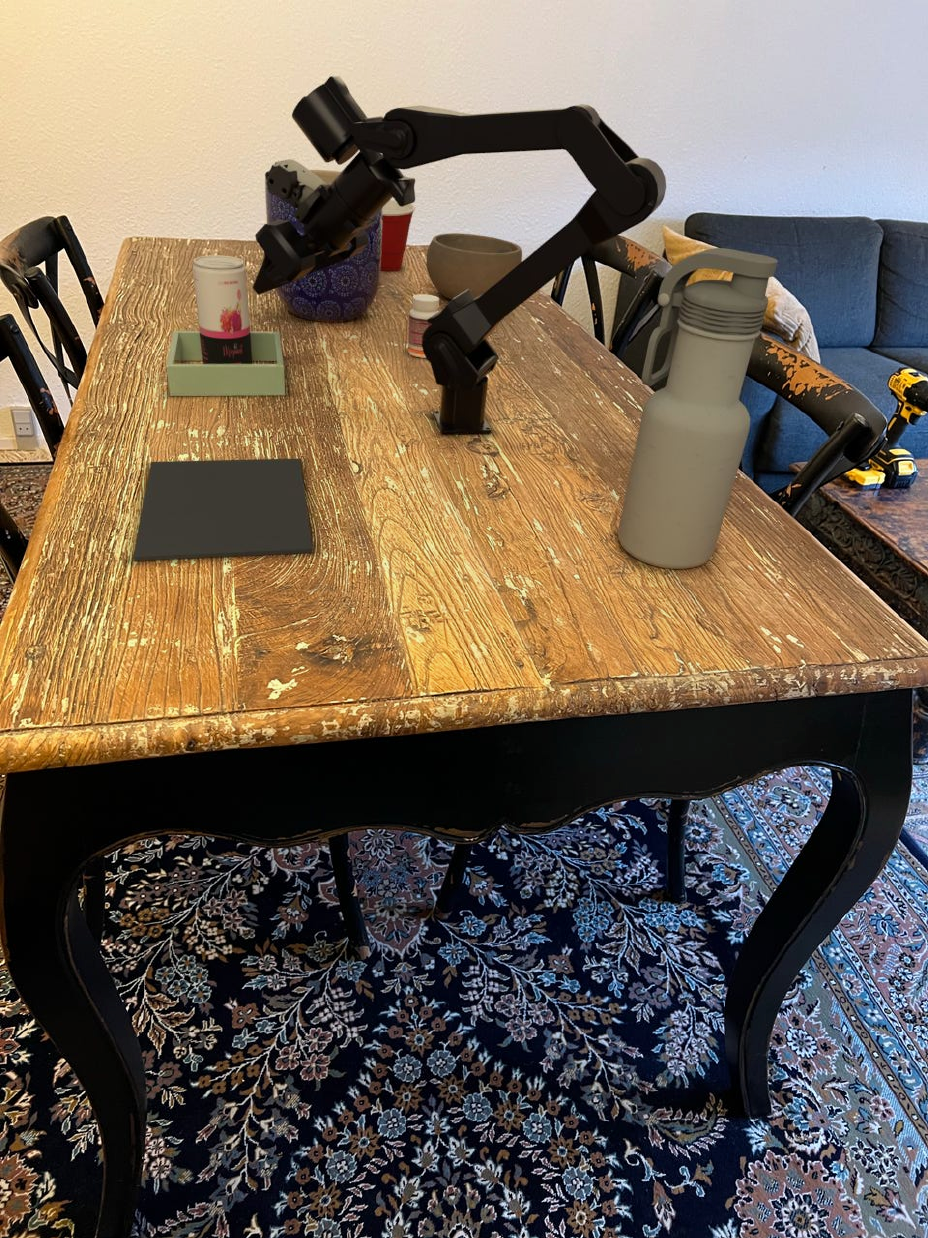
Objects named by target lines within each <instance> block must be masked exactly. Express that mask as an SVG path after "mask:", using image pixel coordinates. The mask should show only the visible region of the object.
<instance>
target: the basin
mask: <svg viewBox="0 0 928 1238" xmlns="http://www.w3.org/2000/svg"><path fill="white" fill-rule="evenodd" d="M280 332H281V331H272V330H271V331H266V330H265V331H263V330H260V331H259V330H256V331H255V330H253V331H252V330H250V335H251V349H252V362H256V361H257V362H261V361H262V362H268V361H270V362H275V363H253V364H203V363H183V362H184V361H185V362H186V361H193V362H194V361H195V362H197V361H198V362H200V361H202V362H203V360H202V350H201V341H200V332H199V330H172V335H171V339H170V345H169V349H168V353H167V354H168V355H167V360H166V365H165V369H166V376H167V382H168V391H169V396H170V397H233V396H235V397H239V396H240V397H241V396H243V397H244V396H246V397H247V396H251V397H253V396H254V397H255V396H256V397H257V396H259V397H260V396H286V381H285V380H286V377H285V376H286V375H285V364H284V355H283V349H282V341H281V340H282V339H281V333H280Z"/></svg>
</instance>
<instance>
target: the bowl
mask: <svg viewBox="0 0 928 1238" xmlns="http://www.w3.org/2000/svg"><path fill="white" fill-rule="evenodd" d="M425 261H426V262H425V263H426V264H425V265H426V271H427V273H428V277H429V279H430V282H431V283H432V284H433V286H434V288H435V290H437V292H438V293H439V294H440V295H442V296H443V297H445V298H446V299H449V300H452V299H453V298H455V297H456V296H458V295H459V294H461V293H462V292H464V291H465V290H467V289H469V290H470V292H471V294H472V296H473V298H476V297H478V296H480V295H482V294H484V293H485V292H486V291H487V290H489V289H490V288H491V287H492V286H493V285H495V284H496V283H497V282H498V281H499V280H501V279H502V278H503V277H504V276H505V275H507V274H508V273H509V272H510V271H511V270H513V269H514V268H515V267H516V266H517V265H519V264H520V263H521V262H522V261H523V249H522V247H521V246H520V245H518V244H517V243H514V242H512V241H509V240H504V239H501V238H497V237H493V236H488V235H487V236H486V235H480V234H472V233H461V232H460V233H459V232H458V233H455V232H452V233H442V234H441V233H440V234H437V235H434V236H433V237H432V240H431V242H430V243H429V246H428V247H427V250H426V260H425Z"/></svg>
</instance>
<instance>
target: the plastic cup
mask: <svg viewBox="0 0 928 1238" xmlns="http://www.w3.org/2000/svg"><path fill="white" fill-rule="evenodd" d="M415 210H416V206H415V205H414V204H413V203H411V204H408V205H405V206H403V207H401V206H399V205H398V203H397V202H396V200H395V199H390V200H389V201H388V202H387V203H386V204H385V205H384V206H383V210H382V253H381V268H380V271H385V272H395V271H399V270H401V269H402V266H403V262H404V255H405V252H406V247H407V242H408V236H409V232H410V231H409V230H410V226H411V222H412V218H413V214H414V212H415Z"/></svg>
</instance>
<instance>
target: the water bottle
mask: <svg viewBox="0 0 928 1238" xmlns="http://www.w3.org/2000/svg"><path fill="white" fill-rule="evenodd" d="M778 262H779V261H778V259H776V258H775V257H771V256H768V255H764V254H758V253H752V252H747V251H743V250H737V249H731V248H725V247H713V248H708V249H704V250H702V251H699V252H697V253H693V254H692V255H689V256H687V257H685V258H683V259H681V260H680V261H678V262H677V263H675V264H674V265H673V266H672V267H671V268H670V269H669V271H668V272H666V275H665V276H664V278H663V280H662V281H661V284H660V287H659V291H658V295H657V296H658V297H657V303H658V305H660V307H663V308H662V313H661V318H660V323H659V326H657V327H655V328H654V329H653V331H652V333H651V335H650V337H649V340H648V343H647V344H648V345H647V350H646V353H645V355H646V356H645V358H644V364H643V368H642V369H643V370H642V375H641V383H642V385H644V386H648V387H652V386H653V385H655V384H657V383H658V382H659V381H661V380H662V379H663V380H664V378H666V377H667V382H666V385H665V387H662V388H660V389H658V390H656V391H654V392H653V393H652V394H651V395H650V396H648V398H647V399H646V401H645V403H644V406H643V409H642V413H641V418H640V423H639V427H638V431H637V437H636V441H635V447H634V451H633V455H632V461H631V465H630V471H629V474H628V480H627V484H626V490H625V493H624V500H623V504H622V510H621V513H620V518H619V524H618V529H617V539H618V541H619V543H620V545H621V547H622V548H623V550H624V551H625V552H626V553H628V554H629V555H630V556H632V557H633V558H635V559H637V560H638V561H641V562H643V563H645V564H648V565H651V566H654V567H658V568H661V569H662V568H663V569H669V570H670V569H671V570H685V569H692V568H696V567H700V566H702V565H704V564H705V563H706V562H708V561H709V560H710V559H711V558H712V556H713V555H714V553H715V551H716V548H717V547H716V546H717V544H718V540H719V537H720V535H721V530H722V526H723V523H724V520H725V517H726V513H727V509H728V505H729V503H730V498H731V495H732V492H733V488H734V485H735V481H736V478H737V476H738V475H737V474H738V470H739V467H740V464H741V460H742V456H743V453H744V450H745V446H746V443H747V439H748V436H749V432H750V427H751V416H750V415H751V414H750V413H749V411H748V408H747V407H746V406H745V404H743V402H742V401H740V396H741V392H742V388H743V384H744V381H745V378H746V374H747V370H748V368H749V367H748V366H749V362H750V359H751V355H752V352H753V348H754V345H755V342H756V338H757V339H758V337H759V336H760V335H761V329H762V327H763V324H764V320H765V316H766V312H767V308H768V306H769V298H768V296H766V293H767V289H768V284H769V281H770V278H773V277H774V276H775V274H776V270H777V267H778ZM705 269H707V270H716V271H723V272H727V273H732V276H731V279H730V280H725V279H701V280H698V281H694V282H692V283H690V284H688V282H689V280H690V278H691V277H692V276H693V275H694V273H696V272H697V271H698V270H705ZM678 316H679V317H678ZM670 331H671V335H670V339H669V340H670V341H669V344H668V350H667V355H666V358H665V361H664V363H663V366H662V367H661V369H659V370H658V371H656V372H655V373H653V367H654V363H655V359H656V354H657V348H658V345H659V343H660V340H661V339H662V337H663V336H664V335H665V334H667V333H668V332H670Z"/></svg>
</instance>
